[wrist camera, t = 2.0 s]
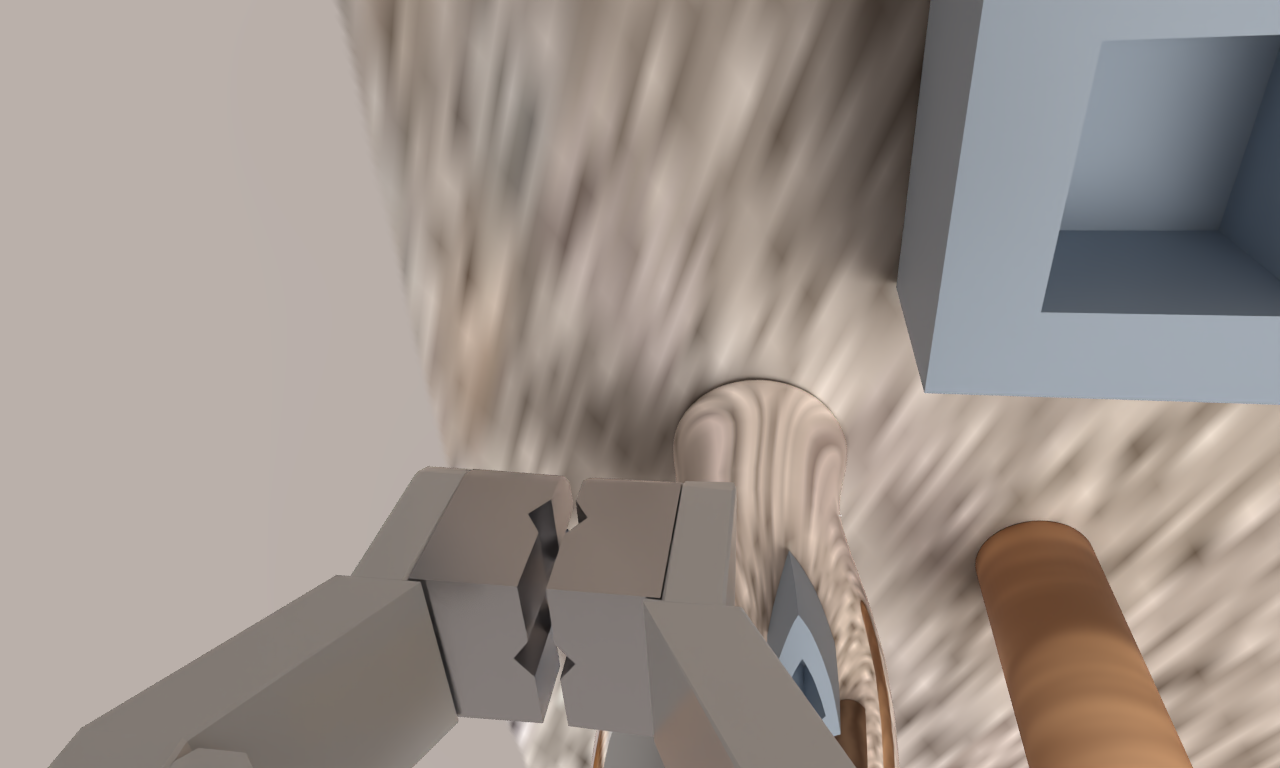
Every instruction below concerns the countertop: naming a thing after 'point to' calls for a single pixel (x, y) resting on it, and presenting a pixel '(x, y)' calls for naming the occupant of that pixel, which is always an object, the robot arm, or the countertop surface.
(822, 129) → the countertop surface
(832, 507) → the beer glass
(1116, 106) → the socket block
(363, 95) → the countertop surface
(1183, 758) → the dowel
